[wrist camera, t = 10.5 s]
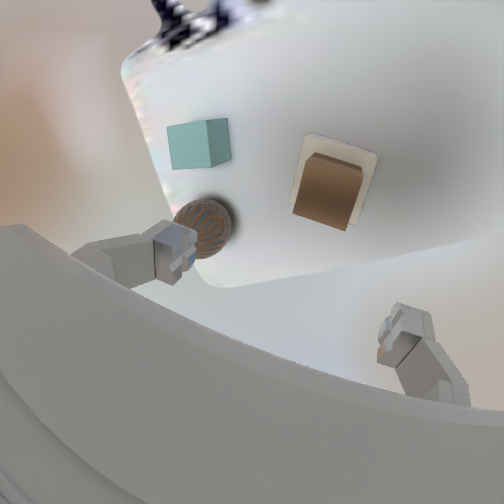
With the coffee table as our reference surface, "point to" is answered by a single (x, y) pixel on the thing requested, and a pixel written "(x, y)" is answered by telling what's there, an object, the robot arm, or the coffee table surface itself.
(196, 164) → the teal cube
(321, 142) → the limestone block
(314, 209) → the walnut block
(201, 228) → the vase
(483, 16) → the coffee table surface
